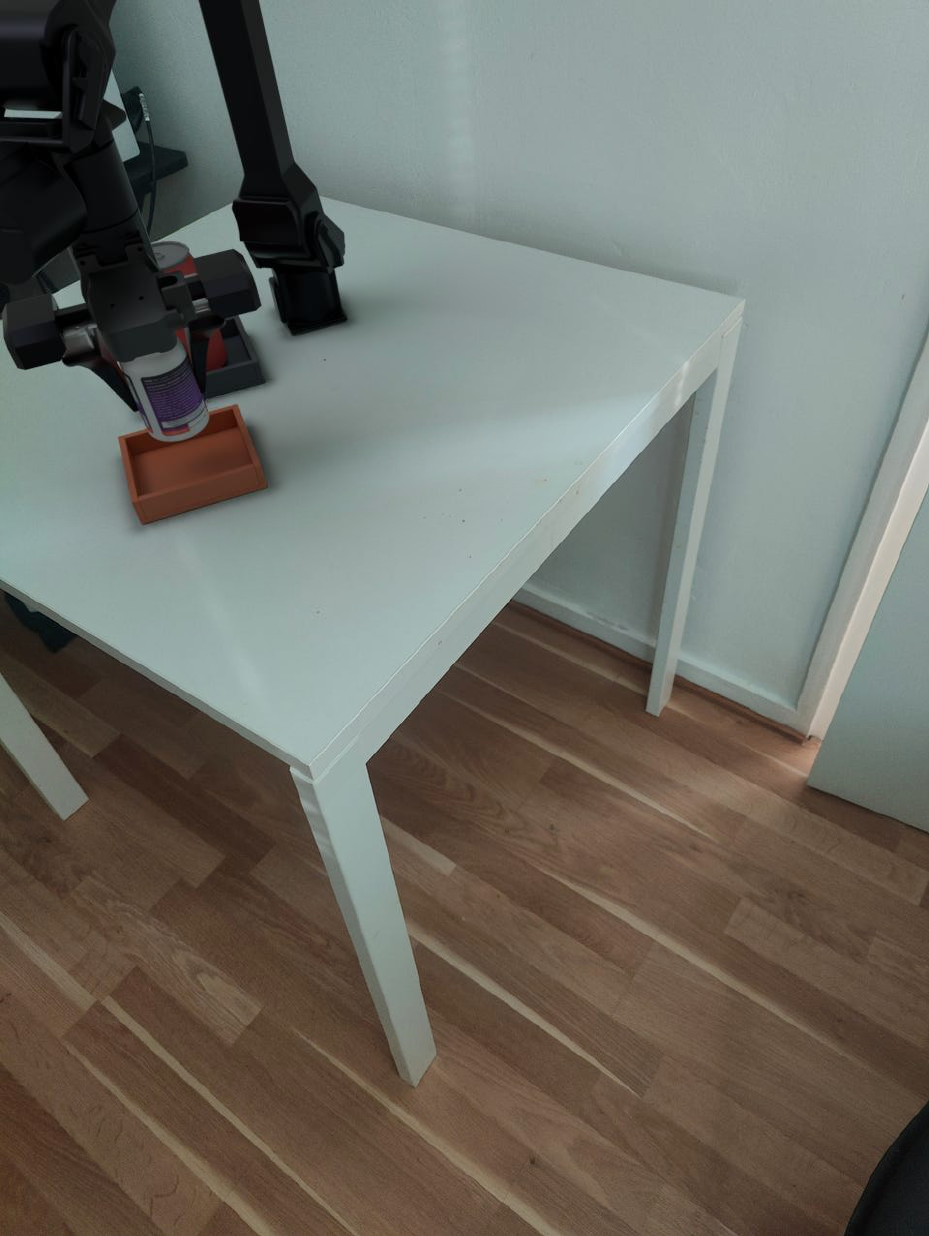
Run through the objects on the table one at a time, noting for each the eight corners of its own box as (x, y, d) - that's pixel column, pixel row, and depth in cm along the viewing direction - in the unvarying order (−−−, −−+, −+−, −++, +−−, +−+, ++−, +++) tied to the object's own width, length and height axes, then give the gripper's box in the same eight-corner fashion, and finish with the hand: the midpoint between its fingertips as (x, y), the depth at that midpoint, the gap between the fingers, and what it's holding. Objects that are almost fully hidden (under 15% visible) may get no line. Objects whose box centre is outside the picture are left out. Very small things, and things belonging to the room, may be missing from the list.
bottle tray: (244, 425, 83) (237, 403, 81) (268, 487, 77) (261, 464, 75) (127, 458, 81) (117, 436, 79) (141, 524, 74) (131, 502, 73)
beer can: (170, 352, 92) (130, 241, 83) (232, 346, 92) (198, 234, 83) (160, 387, 88) (117, 274, 79) (225, 381, 88) (189, 267, 79)
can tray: (244, 335, 94) (238, 314, 92) (265, 382, 88) (258, 360, 86) (132, 364, 92) (123, 343, 90) (145, 415, 85) (136, 393, 84)
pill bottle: (222, 410, 76) (187, 308, 69) (190, 448, 73) (150, 344, 65) (169, 402, 77) (130, 301, 70) (136, 438, 74) (91, 336, 67)
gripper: (-39, 297, 54) (64, 488, 66) (249, 228, 58) (299, 421, 70) (-39, 227, 62) (54, 411, 73) (218, 170, 65) (268, 353, 77)
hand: (169, 400), depth 73 cm, fingers closed on pill bottle, 5 cm apart
